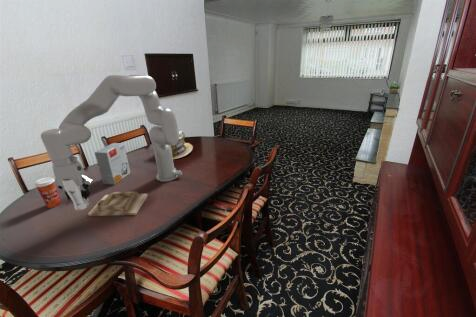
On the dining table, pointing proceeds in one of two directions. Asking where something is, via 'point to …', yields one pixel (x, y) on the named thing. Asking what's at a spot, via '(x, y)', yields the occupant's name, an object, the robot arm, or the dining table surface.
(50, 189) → the paper cup
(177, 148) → the gold white round stack
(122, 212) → the pocket board
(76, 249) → the dining table surface
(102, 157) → the hard drive box
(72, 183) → the beer glass
